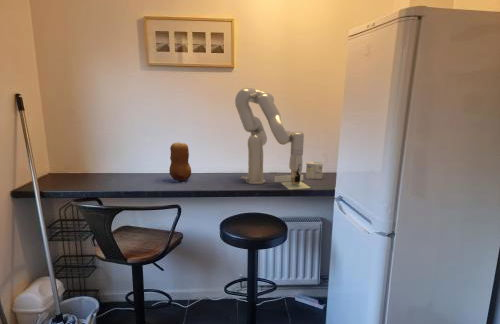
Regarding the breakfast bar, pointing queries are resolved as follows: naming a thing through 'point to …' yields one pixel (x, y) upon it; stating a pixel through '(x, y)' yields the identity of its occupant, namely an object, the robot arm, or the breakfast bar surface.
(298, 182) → the birch cylinder
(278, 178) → the cream plank
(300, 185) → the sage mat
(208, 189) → the breakfast bar surface
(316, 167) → the light bulb box
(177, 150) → the butternut squash
